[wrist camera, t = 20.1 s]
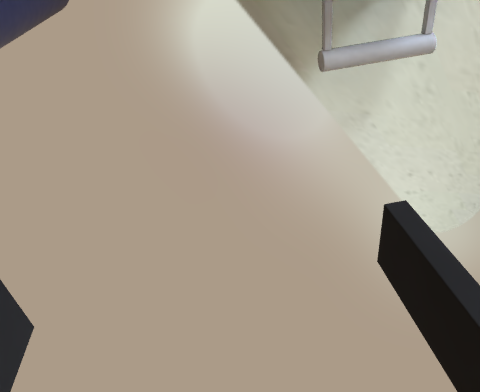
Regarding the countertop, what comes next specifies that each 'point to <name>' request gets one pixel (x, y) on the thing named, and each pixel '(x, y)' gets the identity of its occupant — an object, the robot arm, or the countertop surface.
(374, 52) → the light blue drawer
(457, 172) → the countertop surface
